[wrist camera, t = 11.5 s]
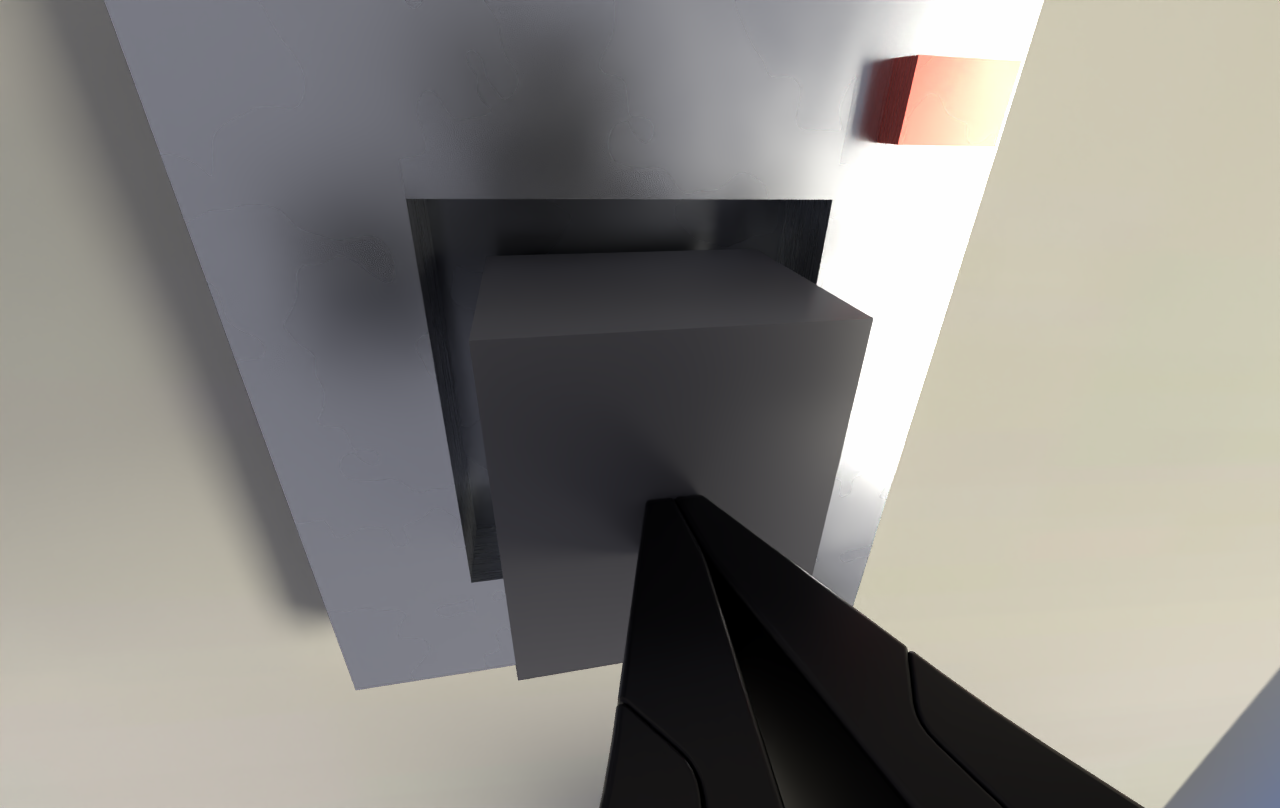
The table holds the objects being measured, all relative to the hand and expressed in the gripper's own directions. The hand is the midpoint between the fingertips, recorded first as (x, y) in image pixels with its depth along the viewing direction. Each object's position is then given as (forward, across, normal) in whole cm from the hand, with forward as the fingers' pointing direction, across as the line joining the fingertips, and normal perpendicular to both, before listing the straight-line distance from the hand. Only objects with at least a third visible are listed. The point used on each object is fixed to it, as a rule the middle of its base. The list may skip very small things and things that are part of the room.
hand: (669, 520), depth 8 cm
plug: (+5, 0, 0) cm, 5 cm away
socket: (+5, 0, 0) cm, 5 cm away
